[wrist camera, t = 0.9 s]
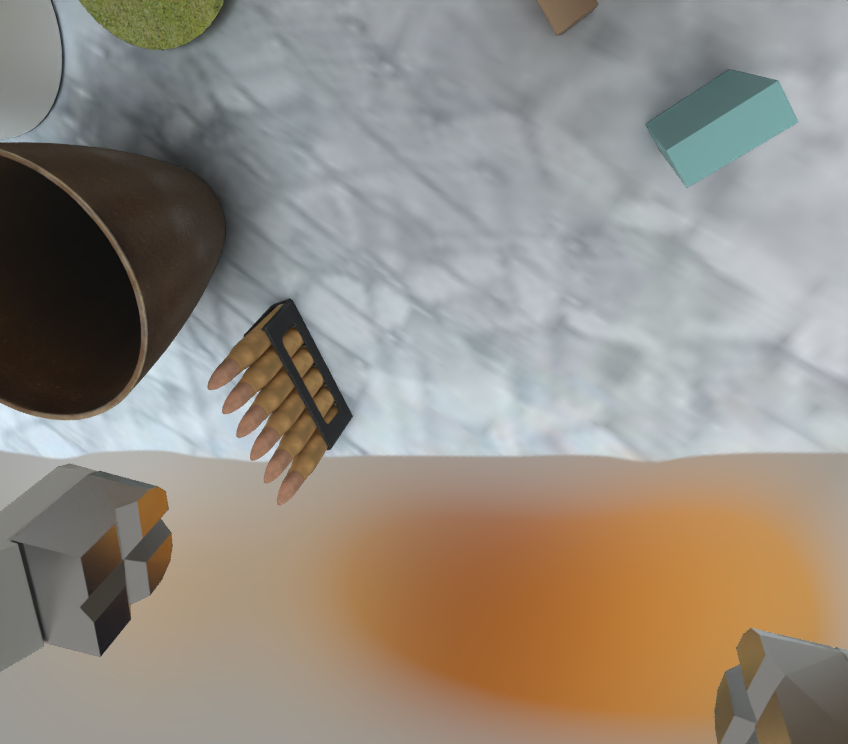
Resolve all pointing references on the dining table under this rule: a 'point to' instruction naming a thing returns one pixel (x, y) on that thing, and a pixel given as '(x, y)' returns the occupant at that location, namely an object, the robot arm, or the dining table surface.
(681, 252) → the dining table surface
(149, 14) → the green disc
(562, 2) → the walnut tile
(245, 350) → the ammunition clip
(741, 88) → the teal tile
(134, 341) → the plant pot
